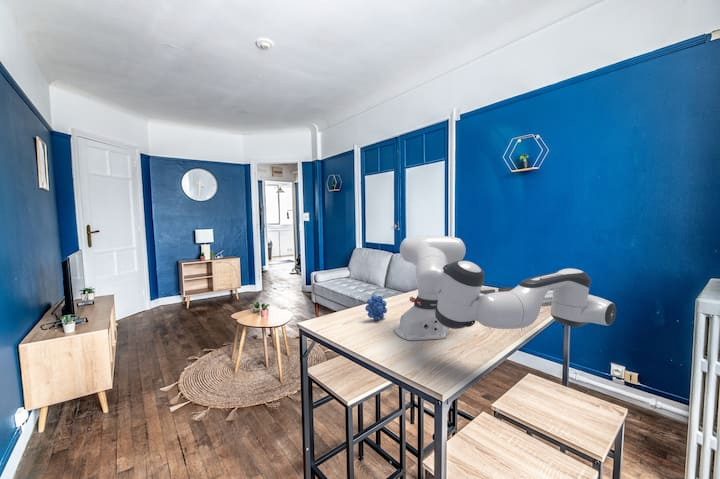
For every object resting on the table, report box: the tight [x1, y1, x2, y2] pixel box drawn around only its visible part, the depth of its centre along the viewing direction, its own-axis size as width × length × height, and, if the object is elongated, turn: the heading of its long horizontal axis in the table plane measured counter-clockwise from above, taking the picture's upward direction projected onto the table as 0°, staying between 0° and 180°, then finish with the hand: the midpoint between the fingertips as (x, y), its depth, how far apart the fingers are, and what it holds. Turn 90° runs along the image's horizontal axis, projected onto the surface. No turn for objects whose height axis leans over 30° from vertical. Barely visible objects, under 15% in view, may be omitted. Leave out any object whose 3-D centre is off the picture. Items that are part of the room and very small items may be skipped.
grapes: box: [364, 294, 388, 321], centre depth 141 cm, size 12×7×12 cm, turn 122°
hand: (534, 292), depth 127 cm, fingers closed
